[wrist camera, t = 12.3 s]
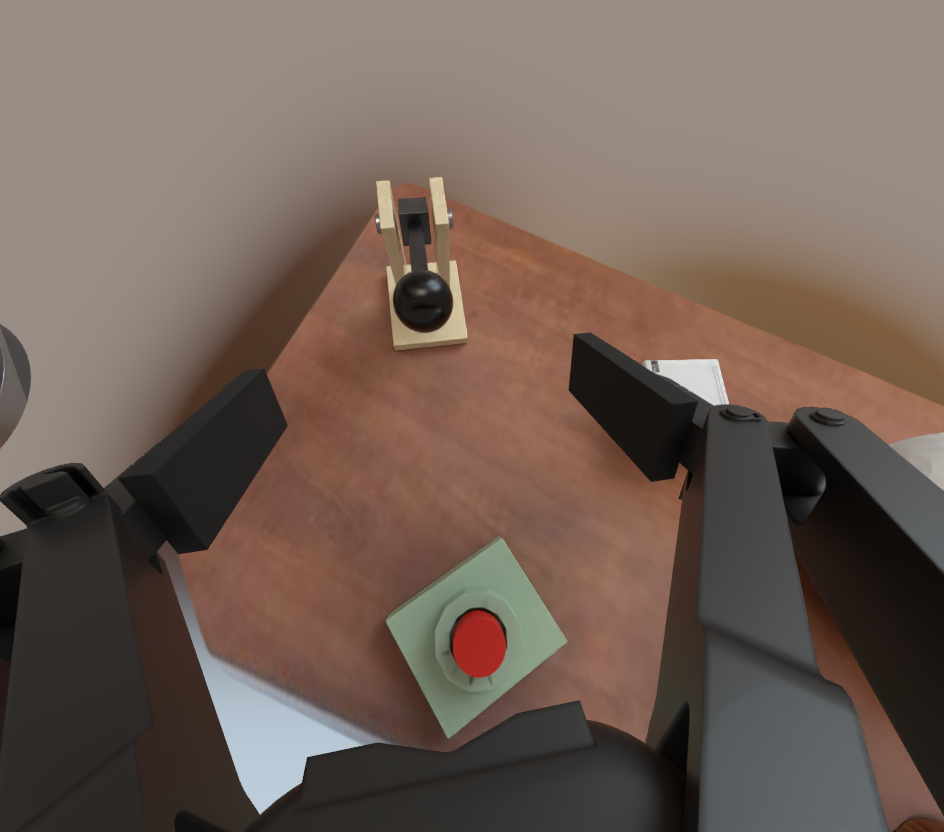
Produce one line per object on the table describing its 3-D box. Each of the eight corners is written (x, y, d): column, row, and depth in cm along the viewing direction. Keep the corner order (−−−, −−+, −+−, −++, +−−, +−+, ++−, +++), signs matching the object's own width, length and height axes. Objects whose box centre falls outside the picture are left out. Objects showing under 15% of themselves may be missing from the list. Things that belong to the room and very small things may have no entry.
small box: (700, 445, 36) (739, 435, 31) (628, 447, 35) (657, 438, 30) (685, 376, 38) (720, 357, 33) (617, 378, 37) (642, 358, 32)
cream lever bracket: (467, 343, 37) (474, 253, 24) (395, 350, 37) (361, 262, 23) (455, 267, 40) (456, 148, 26) (388, 273, 39) (353, 154, 26)
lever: (458, 342, 21) (455, 289, 18) (399, 347, 20) (386, 295, 17) (437, 235, 29) (433, 187, 26) (396, 238, 29) (387, 190, 26)
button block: (448, 722, 28) (447, 757, 24) (389, 612, 30) (380, 628, 26) (560, 632, 30) (575, 651, 26) (498, 535, 32) (504, 539, 28)
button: (470, 678, 26) (471, 690, 24) (443, 630, 27) (442, 638, 25) (512, 645, 27) (516, 654, 25) (484, 599, 27) (486, 605, 26)
